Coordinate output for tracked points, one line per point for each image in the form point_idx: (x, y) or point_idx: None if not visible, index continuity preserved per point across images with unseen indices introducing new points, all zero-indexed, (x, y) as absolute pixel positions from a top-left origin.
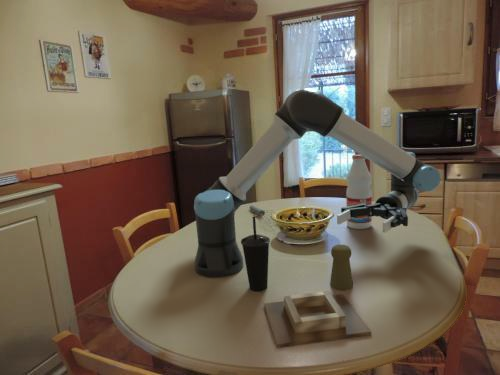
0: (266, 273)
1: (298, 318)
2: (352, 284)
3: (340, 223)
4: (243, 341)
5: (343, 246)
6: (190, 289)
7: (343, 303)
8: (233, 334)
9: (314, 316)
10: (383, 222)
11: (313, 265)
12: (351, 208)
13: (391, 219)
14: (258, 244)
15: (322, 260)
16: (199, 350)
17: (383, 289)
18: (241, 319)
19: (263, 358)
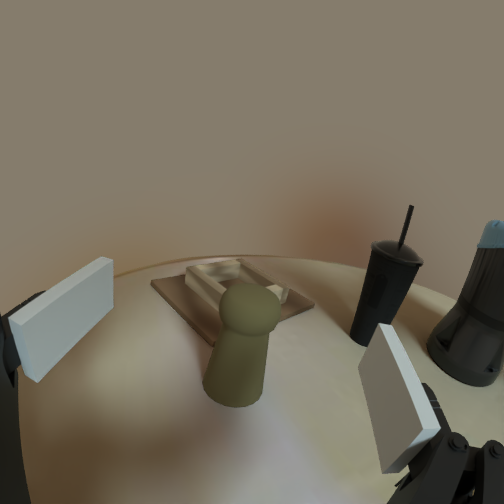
0: (359, 309)
1: (241, 262)
2: (204, 378)
3: (361, 371)
4: (282, 270)
5: (246, 290)
6: (416, 313)
7: (202, 319)
8: (299, 275)
9: (225, 264)
10: (109, 260)
11: (358, 447)
12: (455, 481)
13: (50, 292)
14: (375, 242)
15: (361, 487)
16: (305, 262)
17: (126, 382)
18: (314, 289)
19: (250, 260)
